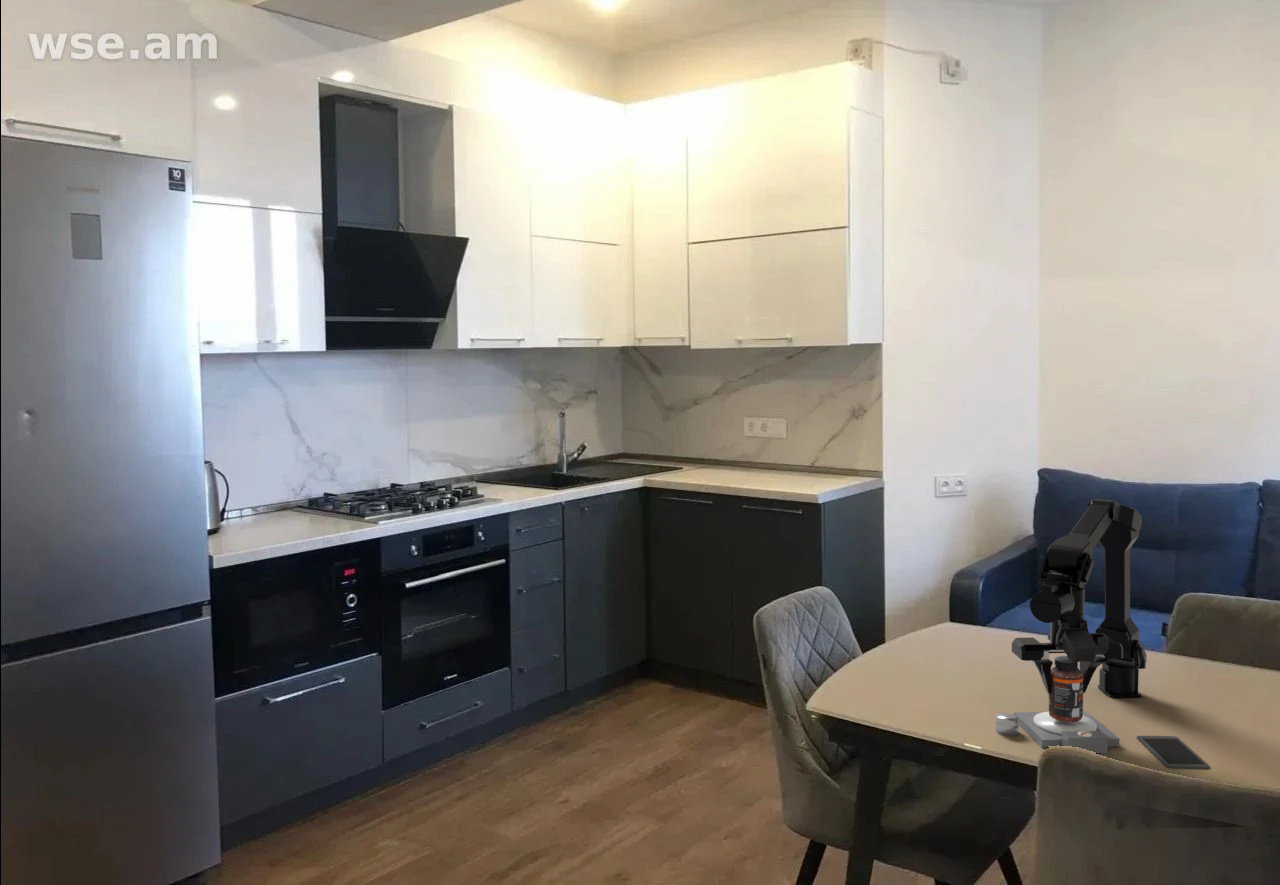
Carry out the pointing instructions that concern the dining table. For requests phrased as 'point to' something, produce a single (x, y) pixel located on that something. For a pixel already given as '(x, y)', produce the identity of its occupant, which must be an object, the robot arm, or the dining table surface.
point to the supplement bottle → (1066, 691)
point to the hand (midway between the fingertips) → (1065, 692)
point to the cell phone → (1172, 752)
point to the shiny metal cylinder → (1007, 724)
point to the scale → (1067, 731)
